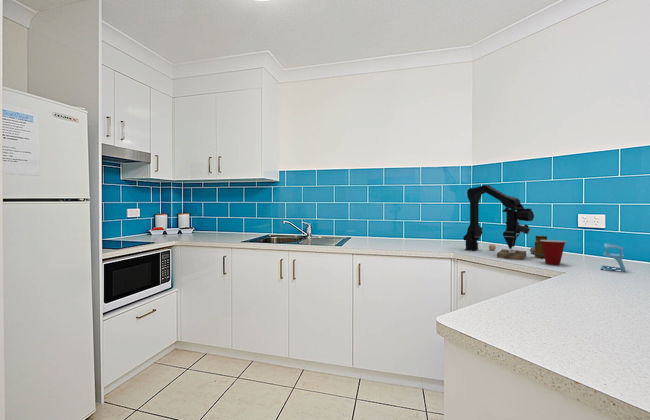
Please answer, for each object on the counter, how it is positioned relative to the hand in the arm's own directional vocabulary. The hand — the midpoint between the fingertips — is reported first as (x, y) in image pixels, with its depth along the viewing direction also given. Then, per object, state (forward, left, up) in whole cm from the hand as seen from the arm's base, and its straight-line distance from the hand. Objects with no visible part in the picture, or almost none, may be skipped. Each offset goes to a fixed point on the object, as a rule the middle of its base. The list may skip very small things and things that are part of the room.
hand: (511, 247), depth 173 cm
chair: (+41, -11, -5) cm, 43 cm away
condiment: (+14, +5, -5) cm, 16 cm away
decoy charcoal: (+9, +16, -3) cm, 19 cm away
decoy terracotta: (-13, +16, -3) cm, 21 cm away
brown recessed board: (0, 0, -5) cm, 5 cm away
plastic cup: (+19, -10, -5) cm, 22 cm away
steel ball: (0, 0, -3) cm, 3 cm away
